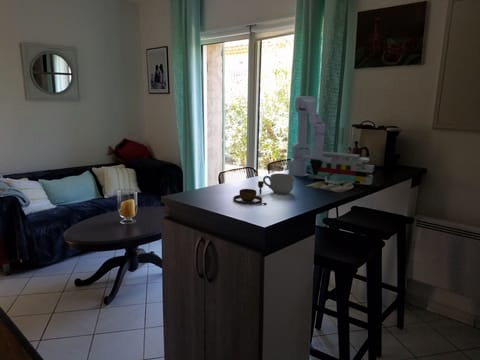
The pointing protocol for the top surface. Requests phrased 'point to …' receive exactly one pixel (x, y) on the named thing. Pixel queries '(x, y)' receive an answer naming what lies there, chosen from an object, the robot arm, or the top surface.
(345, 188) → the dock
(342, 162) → the toy vehicle
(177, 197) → the top surface
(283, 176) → the teacup
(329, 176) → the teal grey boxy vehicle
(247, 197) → the place setting
